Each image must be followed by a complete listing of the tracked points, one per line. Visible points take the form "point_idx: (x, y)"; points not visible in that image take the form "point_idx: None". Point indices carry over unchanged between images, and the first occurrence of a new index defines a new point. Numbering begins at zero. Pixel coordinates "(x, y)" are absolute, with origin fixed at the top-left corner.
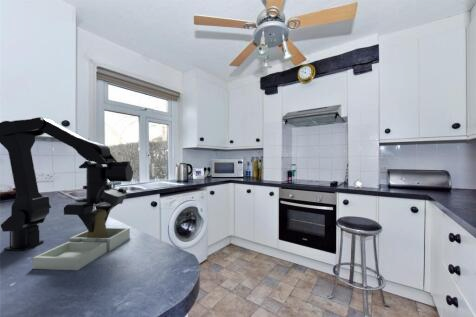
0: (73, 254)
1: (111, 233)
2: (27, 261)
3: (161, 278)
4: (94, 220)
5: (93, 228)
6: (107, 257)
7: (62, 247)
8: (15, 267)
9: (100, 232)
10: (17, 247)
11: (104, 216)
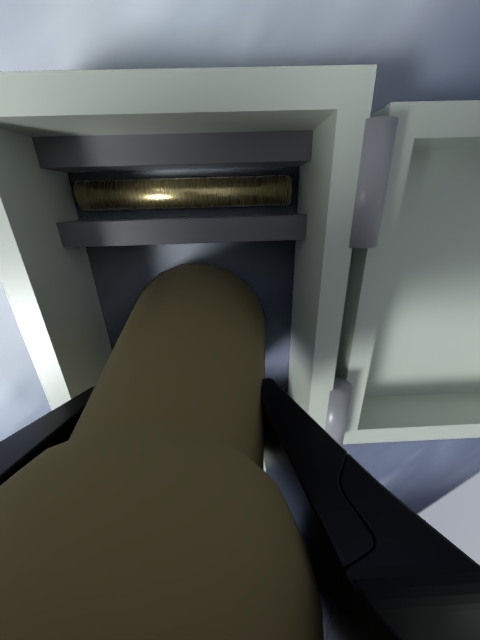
0: (418, 316)
1: (76, 308)
2: (414, 465)
3: None
4: (311, 478)
5: (273, 395)
6: (456, 26)
7: (396, 417)
8: (463, 459)
9: (224, 321)
10: None
11: (114, 456)
